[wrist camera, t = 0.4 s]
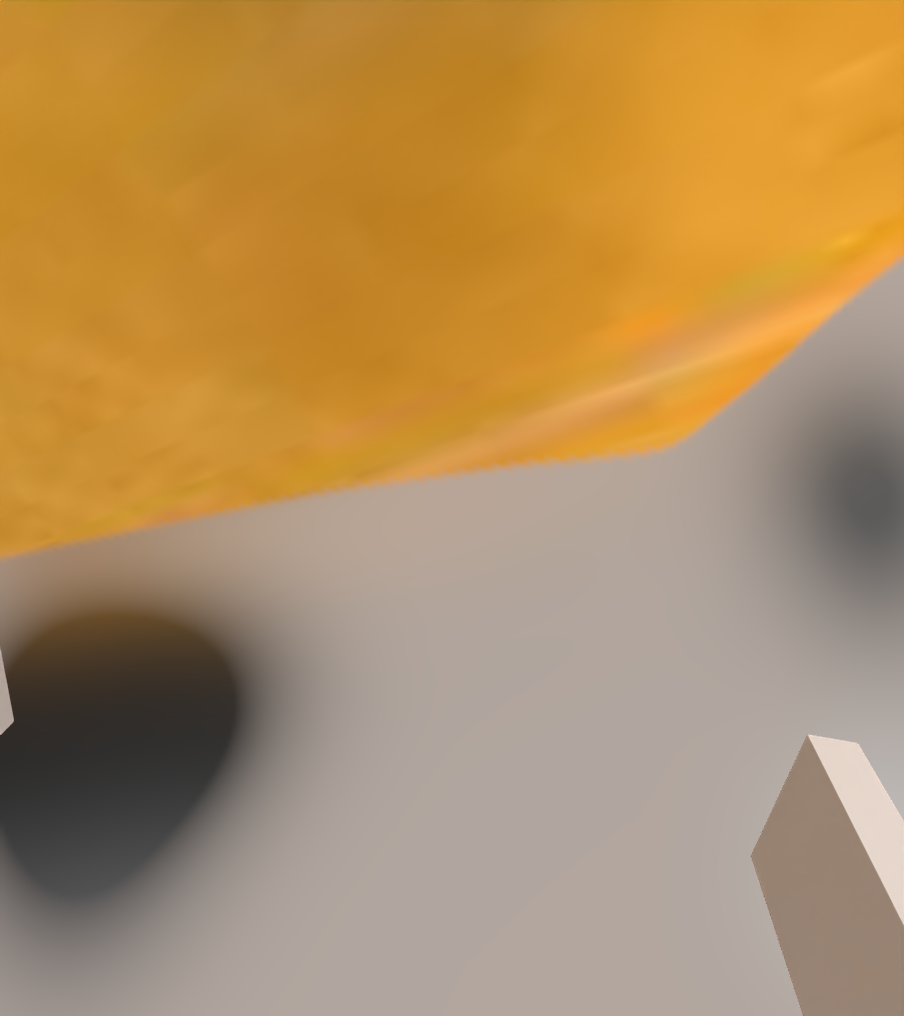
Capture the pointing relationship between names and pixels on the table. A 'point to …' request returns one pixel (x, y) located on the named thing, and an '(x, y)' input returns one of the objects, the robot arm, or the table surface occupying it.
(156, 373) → the table surface
